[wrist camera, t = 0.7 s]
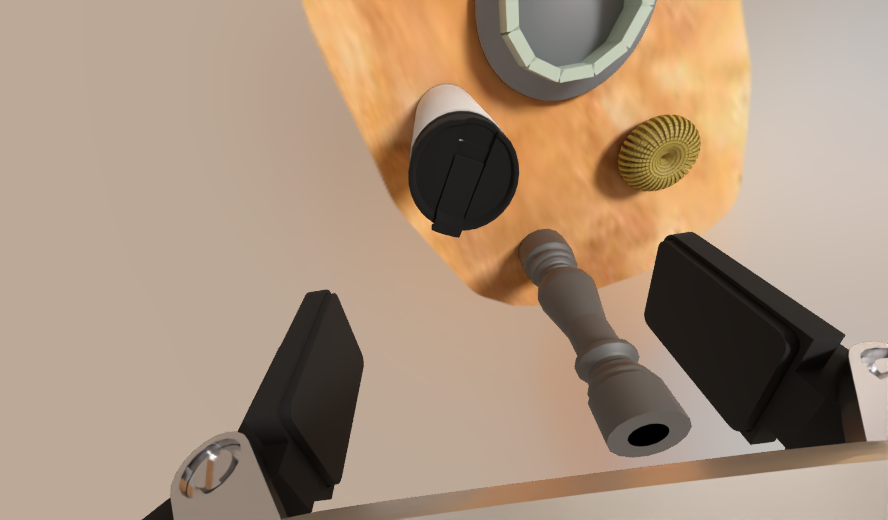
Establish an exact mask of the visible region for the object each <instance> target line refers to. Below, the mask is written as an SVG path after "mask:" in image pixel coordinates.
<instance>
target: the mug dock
mask: <svg viewBox="0 0 888 520" xmlns="http://www.w3.org/2000/svg"><path fill="white" fill-rule="evenodd" d="M656 1H657V0H475V20H476V27H477V33H478V37H479V41H480V45H481V47H482V50H483V52H484V55H485V57H486V59H487V61H488V62H489V64H490V66H491V68H492V69H493V70H494V72H495V73H496V74H497V76H498V77H499V78H500V79H501V80H502V81H503V82H504V83H505V84H507V85H508V86H509V87H511V88H512V89H513V90H515V91H517V92H519V93H521V94H523V95H525V96H528V97H531V98H534V99H539V100H546V101H557V100H565V99H569V98H573V97H576V96H579V95H581V94H584V93H586V92H588V91H590V90H592V89H594V88H595V87H597V86H598V85H600V84H601V83H603V82H604V81H606V80H607V79H608V78H609V77H610V76H611V75H613V74H614V73H615V72H616V71H617V70H618V69H619V68H620V67H621V66H622V65H623V63H624V62H625V61H626V60H627V59H628V57H629V56H630V55H631V53H632V52H633V51H634V49H635V48H636V46H637V44H638V43H639V41H640V40H641V38H642V36H643V34H644V32H645V30H646V28H647V26H648V24H649V21H650V19H651V16H652V14H653V11H654V8H655V4H656Z"/></svg>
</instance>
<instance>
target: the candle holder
mask: <svg viewBox="0 0 888 520" xmlns="http://www.w3.org/2000/svg"><path fill="white" fill-rule="evenodd" d="M518 257H519V259H520V261H521V263H522V266H523V268H524V270H525V272H526V274H527V276H528V277H529V278H530V279H531V280H532V282H533V284H535V285H536V286H538V287H539V288H538V301H539V303H540V305H541V307H542V309H543V311H544V312H545V313H546V314H547V315H548V316H549V317H550V318H551V319H552V320H553V321H554V323H555V324H556V325H557V326H558V327H559V328H560V329H561V330H562V332H563V333H564V334H565V335H566V336H567V337H568V338H569V340H570V342H571V344H572V346H573V348H574V350H575V352H576V354H577V358H576V362H575V370H576V372H577V374H578V376H579V378H580V379H581V380H583V381H585V382H587V383H588V385H589V388H588V396H589V401H588V405H589V407H590V409H591V411H592V414H593V416H594V418H595V420H596V422H597V424H598V427H599V429H600V431H601V433H602V435H603V438H604V440H605V442H606V444H607V446H608V448H609V450H610V451H611V452H613V453H615V454H617V455H619V456H625V457H641V456H649V455H652V454H655V453H659V452H662V451H665V450H667V449H669V448H671V447H672V446H674V445H676V444H678V443H679V442H680V441H681V440H682V439H684V438H685V437H686V436H687V435H688V433H689V431H690V428H691V422H690V418H689V417H688V415H687V414H686V413H685V411H684V410H683V408H682V407H681V406H680V404H679V403H678V402H677V400H676V399H675V397H674V396H673V394H672V393H671V392H670V390H669V389H668V387H667V386H666V385H665V383H664V382H663V380H662V379H661V378H660V377H658V376H657V375H655V374H654V373H652V372H651V371H650V370H648V369H647V368H646V367H644V366H642V365H640V364H638V360H639V355H638V352H637V349H636V348H635V347H634V346H633V345H632V344H631V343H629V342H628V341H626V340H623V339H619V338H618V336H617V335H616V334H615V332H614V330H613V329H612V327H611V326H610V324H609V323H608V321H607V320H606V317H605V314H604V311H603V308H602V304H601V301H600V298H599V294H598V291H597V288H596V285H595V282H594V280H593V279H592V277H591V276H589V275H588V274H587V273H586V272H584V271H583V270H581V269H578V268H577V262H576V260H575V257H574V254H573V252H572V249H571V248H570V246H569V245H568V244H567V242H566V241H565V239H564V238H563V237H562V236H561V235H560V234H559V233H558V232H556V231H553V230H550V229H543V230H537V231H535V232H533V233H531V234H529V235H528V236H527V237H526V238H525V239H524V240H523V241H522V242H521V245H520V247H519V252H518Z"/></svg>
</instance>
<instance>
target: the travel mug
mask: <svg viewBox="0 0 888 520" xmlns="http://www.w3.org/2000/svg"><path fill="white" fill-rule="evenodd" d="M409 160H410V165H409V187H410V192H411V195H412V198H413V200H414V202H415V204H416V206H417V207H418V209H419V210H420V211H421V213H422V214H423V215H424V216H425V217H426V218H428V219H429V220H430V221H432V222H433V223H434V224H432V230H433V231H435V232H438V233H441V234H445V235H449V236H453V237H460V235H461V232H462V231H463V230H472V229H477V228H479V227H482V226H484V225H487V224H488V223H490V222H491V221H493V220H495V219H496V218H497V217H498V216H499V215H500V214H501V213H503V211H504V210H505V209H506V208H507V206H508V205H509V204H510V202H511V200H512V198H513V196H514V194H515V191H516V188H517V185H518V178H519V163H518V159H517V155H516V151H515V149H514V147H513V145H512V143H511V141H510V140H509V139H508V138H507V137H506V136H505V134H504V133H503V131H502V130H501V129H500V127H499V126H498V125H497V124H496V123H495V122H494V121H493V119H492V118H491V117H490V116H489V115H488V114H487V113H486V112H485V111H484V110H483V109H482V108H481V107H480V106H479V105H478V104H477V103H476V101H475V100H474V99H473V98H472V97H471V96H470V95H469V94H468V93H467V92H466V91H465V90H463V89H462V88H460V87H458V86H456V85H453V84H440V85H437V86H434V87H432V88H431V89H429V90H428V91H427V92H426V93H425V94H424V95H423V96H422V98H421V99H420V101H419V103H418V106H417V110H416V116H415V123H414V130H413V137H412V144H411V151H410V158H409Z"/></svg>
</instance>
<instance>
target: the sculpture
mask: <svg viewBox="0 0 888 520" xmlns="http://www.w3.org/2000/svg"><path fill="white" fill-rule="evenodd" d="M649 126H650V127H649ZM673 130H674V131H673ZM631 133H632V135H628V136H627V138H628V139H629V140H630V141H632V142H634V143H635V144H634V143H631V142H629V141H626V140H625V141H624V142H623V143H624V144H626V145H628V146H621V152H619V158H618V162H619V163H618V168H619V173H620V175H621V177H622V179H623V180H624V181H625V182H626V183H627V184H629V185H630V186H631V187H633V188H635V189H637V190H642V191H658V190H661V189H665V188H667V187H670V186H672V185H673V184H674V183H677V182H678V181H679V179H682V178H683V177H684V174H687V173H688V171H687V170H686V169H685V168H687V169H691V168H692V166H690V165H691V164H692V165H693V164H694V163H695V162H696V160H694V159H697V158H698V155H699V154H698V153H699V151H700V144H701V142H700V136H699V133H698V130H697V129H696V127H695V125H694V124H692V123H691V121H689V120H687V119H686V118H684V117H682V116H678V115H660V116H657V117H655V118H654V117H653V118H651V119H649V120H648V121H645V122H643V123H642V124H640V125H639V126H638V127H636V130H635V129H634V130H633V131H632V132H631ZM637 134H638V135H637ZM638 136H639V137H640V138H639V137H638ZM683 137H684V138H683ZM644 148H645V149H644ZM628 149H630V150H628ZM626 153H627V154H626ZM688 164H690V165H688ZM683 167H684V168H683ZM683 173H684V174H683ZM678 174H679V175H678ZM631 177H632V178H631ZM649 177H650V178H649ZM655 177H656V178H655Z"/></svg>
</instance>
